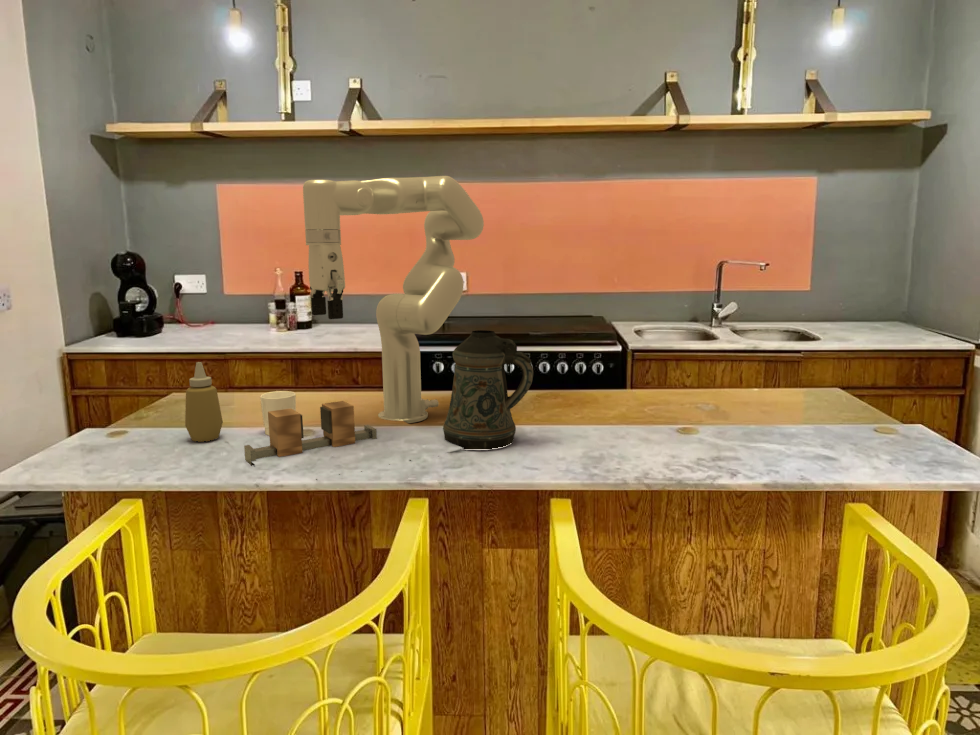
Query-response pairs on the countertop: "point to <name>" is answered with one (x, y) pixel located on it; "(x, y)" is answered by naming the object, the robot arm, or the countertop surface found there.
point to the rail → (305, 444)
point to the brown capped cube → (286, 431)
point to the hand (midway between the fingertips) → (327, 316)
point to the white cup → (276, 404)
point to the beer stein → (484, 392)
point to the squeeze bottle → (202, 408)
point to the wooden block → (338, 422)
